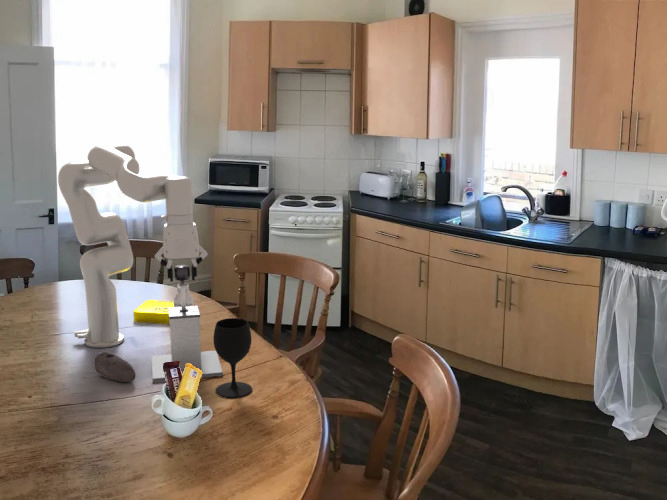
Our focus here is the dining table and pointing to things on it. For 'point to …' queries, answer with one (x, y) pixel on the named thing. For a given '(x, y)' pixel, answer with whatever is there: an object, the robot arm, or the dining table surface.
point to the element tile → (153, 312)
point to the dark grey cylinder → (182, 281)
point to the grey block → (185, 335)
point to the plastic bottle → (188, 297)
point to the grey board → (208, 367)
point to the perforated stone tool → (114, 367)
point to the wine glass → (232, 352)
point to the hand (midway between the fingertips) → (182, 279)
